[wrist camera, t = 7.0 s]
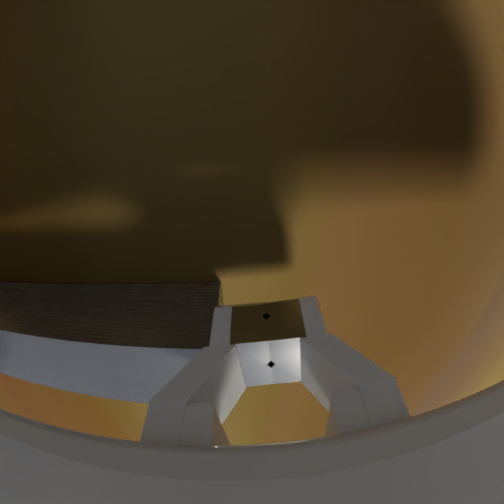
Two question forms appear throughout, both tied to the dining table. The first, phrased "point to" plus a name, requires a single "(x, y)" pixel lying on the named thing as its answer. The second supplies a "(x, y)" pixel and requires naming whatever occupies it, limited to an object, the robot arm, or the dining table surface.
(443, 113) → the dining table surface
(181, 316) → the rod
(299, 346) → the robot arm
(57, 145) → the dining table surface
